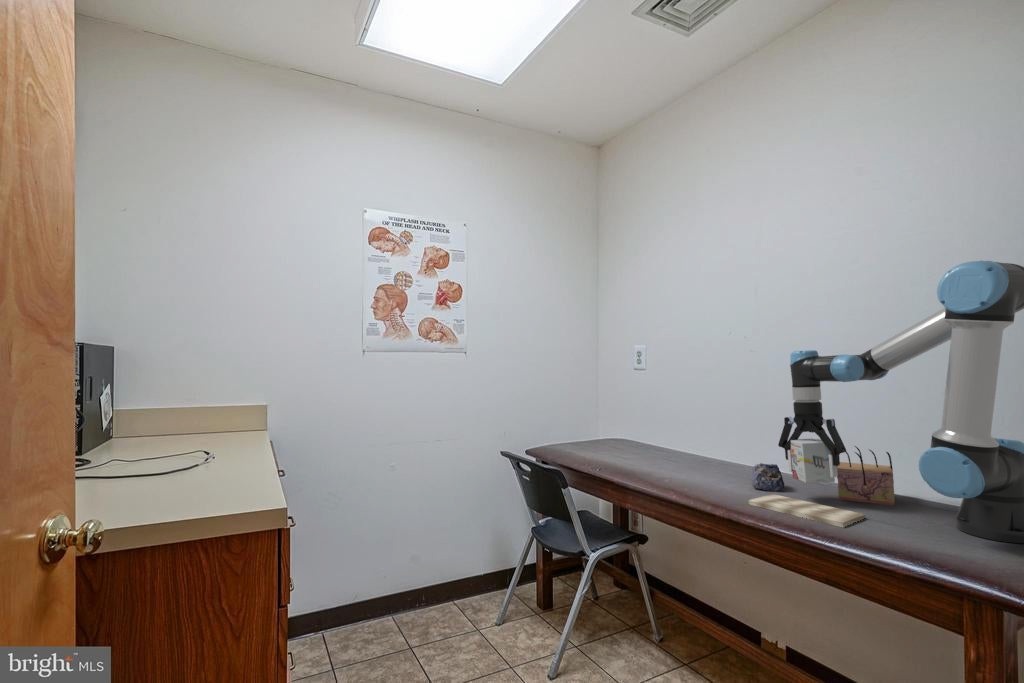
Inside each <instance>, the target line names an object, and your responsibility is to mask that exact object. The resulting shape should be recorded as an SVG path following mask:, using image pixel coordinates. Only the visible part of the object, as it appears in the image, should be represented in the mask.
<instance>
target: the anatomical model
mask: <svg viewBox="0 0 1024 683" xmlns="http://www.w3.org/2000/svg"><path fill="white" fill-rule="evenodd" d="M853 447H855V448H856V449H857V451H858V452H859V453H858V452H856V451H854V454H856V455H857V456H858V458H859V461H860V463H859V462H858V463H857V462H855V463H854V462H851V458H850V455H849V453H848V452H847V451H846V452H845V454H846V455H847V458H848V459H847V460H848V462H844V461H840V465H839V466H837V473H838V476H837V477H836V479H837V488H838V489H837V490H838V500H843V501H852V502H862V503H871V504H879V505H890V506H896V504H895V501H896V500H895V486H894V482H895V481H894V473H893V472H894V471H893V462H892V457H891V454H890V453H889V452H888V451H886V454H887V456H888V460H889V465H883V464H878V461H877V460H878V459H877V457H876V454H875V453H874V451H872V450H871V449H869V448H868V449H867V450H868V451H870V452H871V454H872V455H873V456H874V460H875V464H870V463H864V461H863V455H862V453H861V450H860V449H859V448H858V447H857V446H856V445H853Z"/></svg>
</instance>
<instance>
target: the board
mask: <svg viewBox="0 0 1024 683" xmlns="http://www.w3.org/2000/svg"><path fill="white" fill-rule="evenodd" d="M747 502H748V505H750V506H755V507H759V508H762V509H766V510H770V511H774V512H778V513H783V514H787V515H790V514H791V516H794V515H795V516H794V517H799V518H802V517H803V518H802V519H806V518H807V519H806V520H810V519H811V520H812V521H814V520H815V521H814V522H818V521H819V523H822V522H823V524H827V525H831V526H835V527H840V528H845V526H846V527H848V526H847V525H849V526H851V525H853V524H852V523H854V522H856V523H858V522H857V521H859V522H861V521H863V520H862V519H864V518H867V517H866V514H864V513H861V512H856V511H852V510H847V509H842V508H837V507H833V506H830V505H825V504H820V503H816V502H812V501H811V502H810V501H806V500H802V499H797V498H792V497H788V496H783V495H778V494H773V493H771V494H766V495H763V496H760V497H755V498H751V499H749V500H748V501H747ZM860 520H861V521H860ZM864 520H865V519H864ZM850 524H851V525H850ZM854 524H855V523H854Z"/></svg>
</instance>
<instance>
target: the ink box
mask: <svg viewBox="0 0 1024 683" xmlns="http://www.w3.org/2000/svg"><path fill="white" fill-rule="evenodd" d="M829 454H831V452H830V451H829V449H828V448H827V447H826V445H825V444H824V443H823V441H822V440H821V439H820V438H802V439H801V438H800V439H799V438H798V439H797V440H791V458H792V478H794V479H795V480H799V481H800V482H803V483H804V484H805V483H809V484H810V483H814V484H815V483H836V481H835V477H833V478H832V477H830V467H829Z"/></svg>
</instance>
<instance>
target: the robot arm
mask: <svg viewBox="0 0 1024 683" xmlns="http://www.w3.org/2000/svg"><path fill="white" fill-rule="evenodd" d="M936 295H937V299H938V301H939V303H940V304H941V305H942V306H943V308H942V309H939V310H938V311H937V312H935V313H933V314H931V315H930V316H927V317H926V318H924V319H922V320H921V321H919V322H917V323H915V324H913V325H911V326H909V327H907V328H906V329H904V330H902V331H900V332H898V333H897V334H895V335H893V336H891V337H889V338H888V339H886V340H884V341H882V342H881V343H878V344H877V345H876V346H874V347H872V348H870V349H868V350H866V351H864V352H863V353H861V354H837V355H824V356H823V355H822V356H821V355H819V353H818V351H817V350H814V349H813V350H810V349H809V350H793V351H792V352H791V353H790V359H789V360H790V363H789V367H790V375H791V380H792V381H791V383H792V384H791V386H792V387H791V388H792V400H793V401H794V402H793V413H794V417H792V416H785V417H784V419H783V421H784V425H783V428H782V431H781V434H780V438H779V441H778V447H779V448H782V449H784V454H785V460H786V461H787V462H788V472H792V458H791V440H797V439H799V438H800V436H801V435H802V433H806V432H809V433H811V434H812V433H814V434H815V435H817V436H818V438H819V439H820V440H822V441H823V443H824V444H825V445H826V447H827V448H828V449H829V451H830V452H831V454H829V467H830V477H832V478H833V477H834V478H837V476H838V473H837V466H839V465H840V462H841V461H840V454H843V453H846V452H847V449H846V446H845V445H844V442H843V440H842V438H841V435H840V434H839V431H838V430H837V427H836V421H835V419H834V418H828V419H826V418H825V419H824V417H823V413H824V412H823V402H821V400H822V390H821V383H822V382H823V383H824V382H842V383H848V382H849V383H851V382H857V381H875V380H878V379H882V378H884V377H886V376H887V374H888V373H889V372H890V371H891V370H892V369H894V368H897V367H898V366H900V365H903V364H904V363H907V362H908V361H911V360H913V359H914V358H917V357H919V356H921V355H922V354H924V353H927V352H928V351H930V350H932V349H934V348H937V347H939V346H941V345H943V344H945V343H947V342H948V341H950V345H949V354H948V363H947V372H946V381H945V388H944V389H945V390H944V400H943V409H942V415H941V417H942V418H941V425H940V426H941V427H940V428H939V429H937V430H936V431H932V434H931V440H930V442H931V443H930V448H928V449H927V450H926V451H924V452H923V453H922V455H921V456H920V458H919V460H918V470H919V473H920V476H921V477H922V479H923V480H924V482H926V484H927V485H928V486H929V488H931V489H932V490H933V491H935V492H937V493H938V494H939V495H942V496H944V497H947V498H952V499H962V500H961V503H960V504H959V505H960V506H959V508H958V511H957V513H956V516H955V526H956V528H957V529H958V530H959V531H962V532H963V533H966V534H969V535H972V536H974V537H979V538H982V539H988V540H993V541H998V542H1003V543H1005V542H1006V543H1013V544H1014V543H1015V544H1024V442H1023V441H1020V440H1016V439H1008V438H997V437H993V436H992V426H993V419H994V412H995V411H994V410H995V402H996V395H997V392H996V391H997V385H998V376H999V368H1000V361H1001V358H1000V357H1001V350H1002V344H1003V343H1002V342H1003V336H1004V335H1003V333H1004V330H1005V329H1006V328H1008V327H1009V326H1011V325H1013V324H1014V322H1015V315H1016V313H1018V312H1020V311H1022V310H1024V266H1023V265H1020V264H1016V263H1010V262H1009V263H1008V262H998V261H993V260H972V261H966V262H961V263H959V264H956V265H955V266H953V267H952V268H950V269H949V270H948V271H946V272H945V273H944V274H943V275H942V277H941V279H940V280H939V282H938V284H937V288H936ZM793 424H796V426H795V428H794V429H793V433H792V434H791V432H792V428H793ZM823 425H824V426H825V427H826V428H827V431H828V434H829V435H830V436H829V435H828V434H827V432H826V430H825V428H824V427H823ZM790 435H791V436H790Z"/></svg>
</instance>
